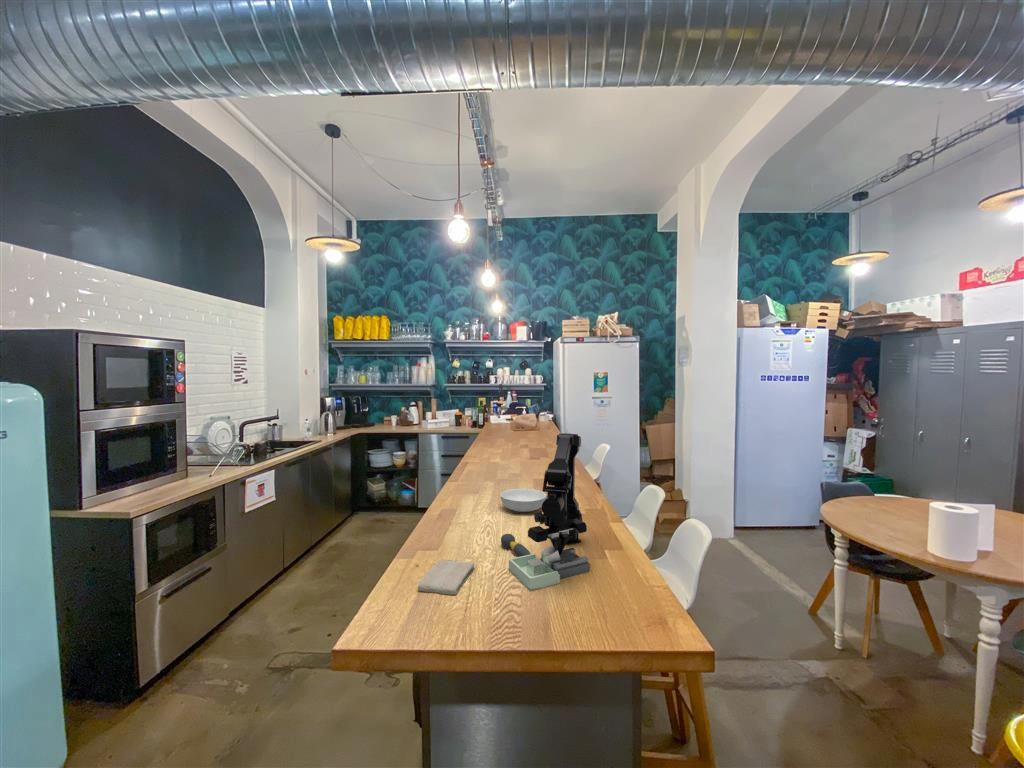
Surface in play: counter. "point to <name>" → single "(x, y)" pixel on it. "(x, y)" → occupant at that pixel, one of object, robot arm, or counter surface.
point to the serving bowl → (523, 499)
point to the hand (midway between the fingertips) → (558, 556)
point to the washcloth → (446, 577)
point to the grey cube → (550, 556)
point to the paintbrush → (513, 545)
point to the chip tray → (520, 571)
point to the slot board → (570, 564)
